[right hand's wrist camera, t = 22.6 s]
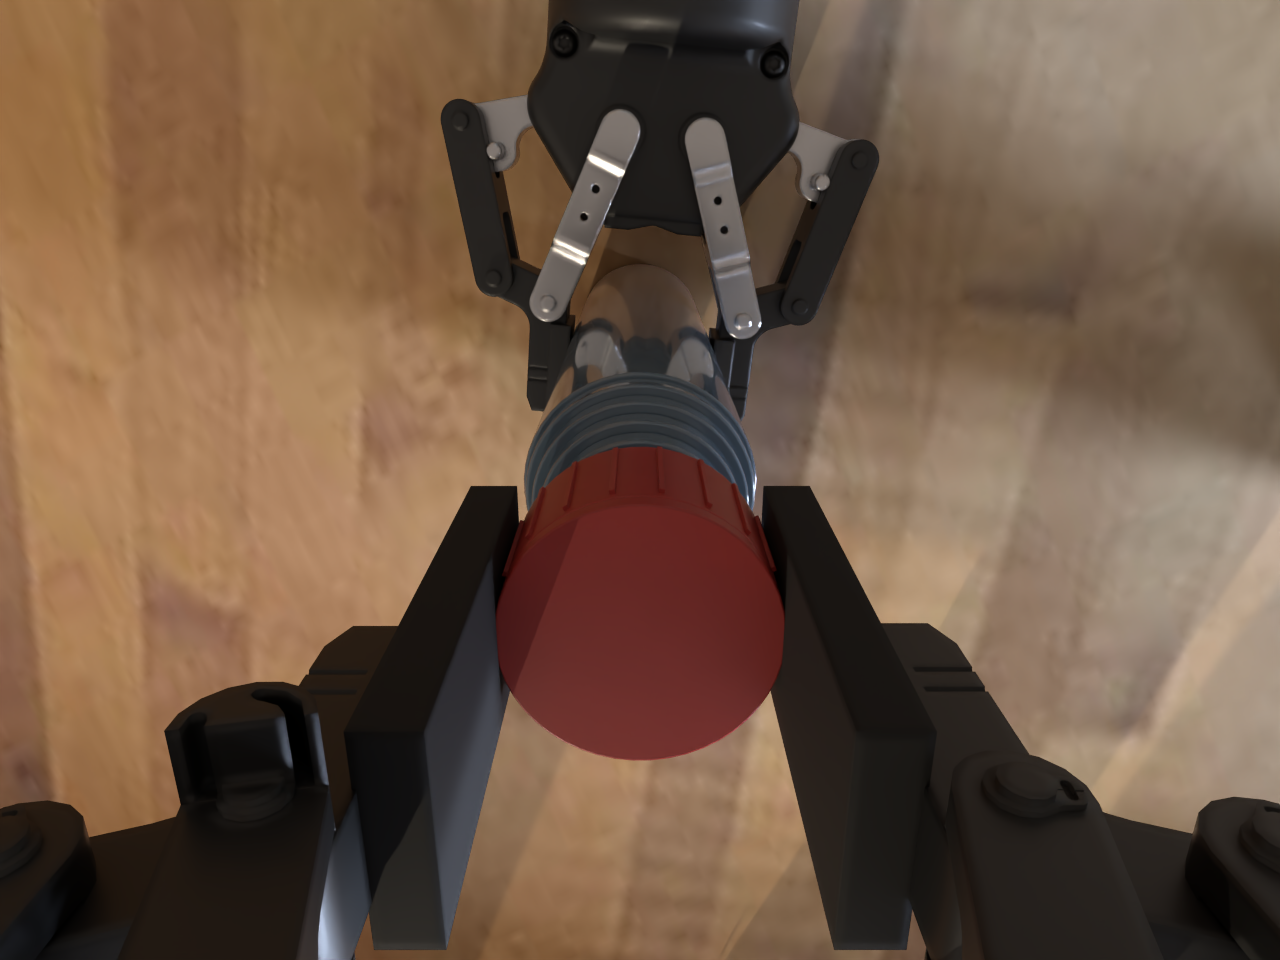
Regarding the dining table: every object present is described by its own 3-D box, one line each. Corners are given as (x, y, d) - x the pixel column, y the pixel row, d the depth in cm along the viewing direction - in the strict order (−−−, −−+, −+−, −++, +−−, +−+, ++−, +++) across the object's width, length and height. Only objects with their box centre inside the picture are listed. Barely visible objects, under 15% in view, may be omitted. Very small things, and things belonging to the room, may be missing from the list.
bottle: (684, 389, 37) (757, 769, 14) (573, 367, 37) (459, 719, 14) (709, 276, 36) (841, 495, 12) (593, 252, 35) (504, 430, 12)
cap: (609, 711, 16) (603, 809, 13) (462, 532, 14) (427, 605, 12) (812, 592, 15) (845, 674, 12) (674, 392, 14) (681, 441, 11)
